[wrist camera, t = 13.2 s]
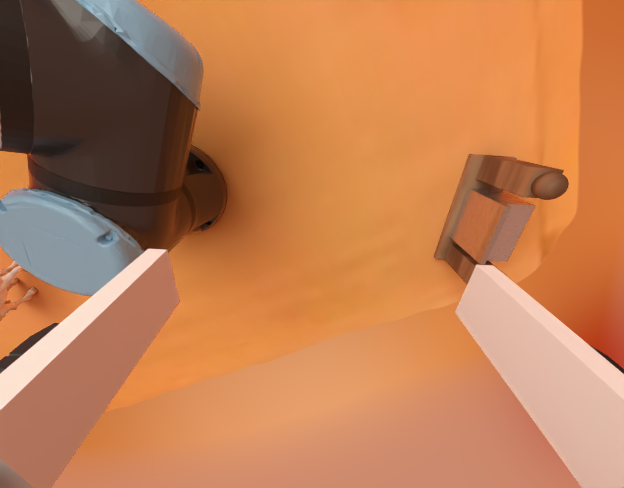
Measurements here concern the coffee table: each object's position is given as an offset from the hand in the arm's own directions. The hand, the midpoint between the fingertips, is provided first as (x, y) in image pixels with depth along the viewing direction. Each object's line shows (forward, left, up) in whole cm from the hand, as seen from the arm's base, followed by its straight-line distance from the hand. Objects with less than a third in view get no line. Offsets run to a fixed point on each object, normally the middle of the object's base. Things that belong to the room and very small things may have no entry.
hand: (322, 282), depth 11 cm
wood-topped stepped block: (+28, -7, -31) cm, 43 cm away
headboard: (+28, -7, -32) cm, 43 cm away
